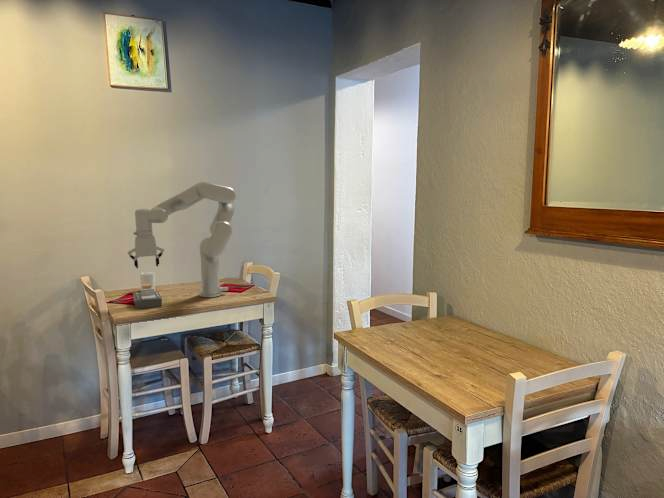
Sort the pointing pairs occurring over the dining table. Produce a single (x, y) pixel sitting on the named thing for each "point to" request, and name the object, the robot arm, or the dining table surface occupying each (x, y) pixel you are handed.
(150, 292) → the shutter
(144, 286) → the tan rectangular block
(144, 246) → the robot arm
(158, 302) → the grey sliding cover box
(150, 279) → the white cup
